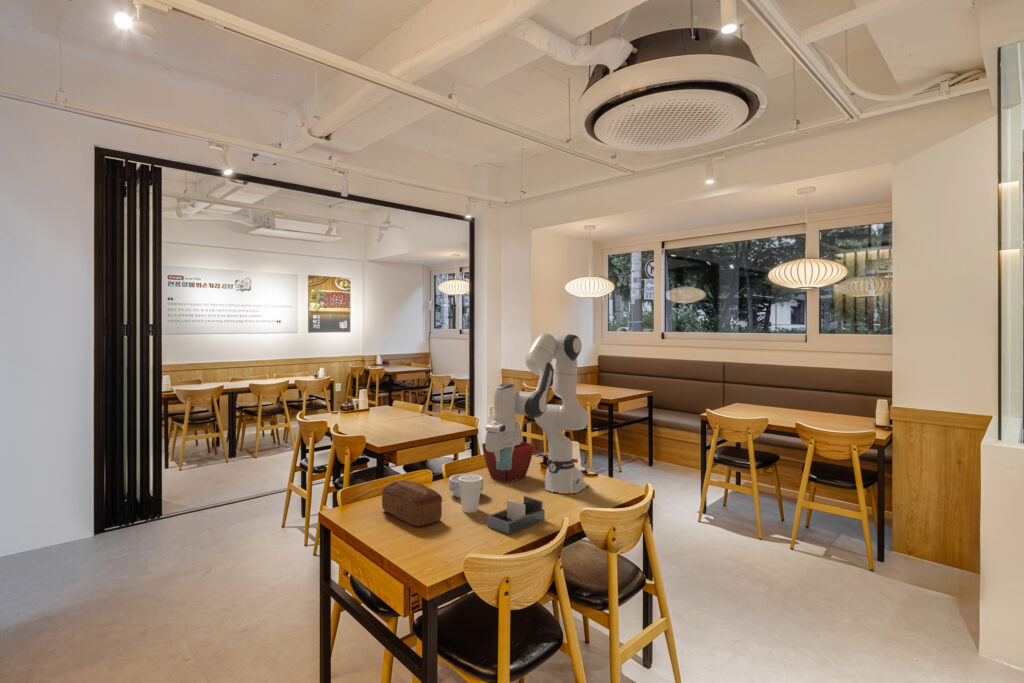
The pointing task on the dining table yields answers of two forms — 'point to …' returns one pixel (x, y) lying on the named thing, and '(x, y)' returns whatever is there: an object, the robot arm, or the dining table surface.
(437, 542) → the dining table surface
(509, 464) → the jar
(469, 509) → the foam cup
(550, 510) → the dining table surface
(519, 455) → the plant pot
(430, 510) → the bread
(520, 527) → the grey open box
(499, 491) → the dining table surface
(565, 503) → the dining table surface
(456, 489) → the pale lilac bowl
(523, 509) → the plate
